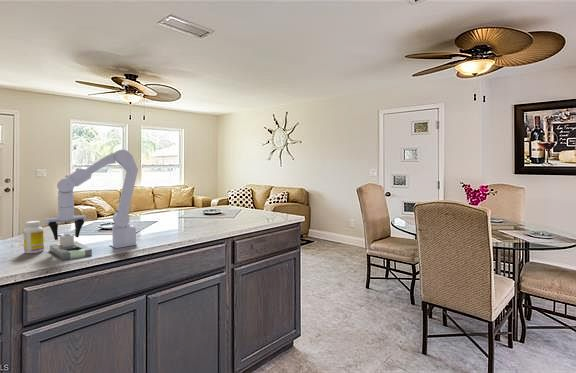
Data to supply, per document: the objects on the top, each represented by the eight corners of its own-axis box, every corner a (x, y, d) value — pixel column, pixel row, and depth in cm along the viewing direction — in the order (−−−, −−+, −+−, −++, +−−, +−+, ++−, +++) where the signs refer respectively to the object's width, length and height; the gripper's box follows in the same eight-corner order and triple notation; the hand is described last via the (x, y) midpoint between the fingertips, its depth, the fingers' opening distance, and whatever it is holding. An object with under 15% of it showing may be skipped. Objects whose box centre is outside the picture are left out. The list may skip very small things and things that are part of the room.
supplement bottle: (47, 249, 144) (46, 220, 143) (36, 253, 137) (35, 223, 136) (31, 249, 143) (30, 220, 143) (20, 253, 137) (19, 223, 136)
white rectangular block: (71, 249, 145) (70, 232, 145) (74, 251, 142) (73, 233, 142) (60, 251, 142) (60, 233, 142) (63, 252, 139) (62, 235, 139)
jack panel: (76, 246, 150) (76, 241, 149) (91, 255, 136) (91, 249, 136) (49, 250, 142) (49, 244, 142) (63, 260, 129) (63, 253, 129)
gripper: (82, 204, 149) (82, 234, 150) (43, 207, 138) (43, 239, 139) (87, 206, 144) (88, 236, 145) (47, 208, 134) (48, 242, 134)
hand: (66, 238), depth 142 cm, fingers open, 7 cm apart
